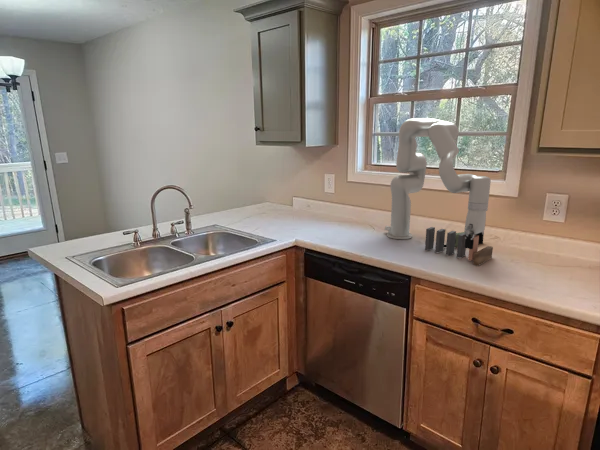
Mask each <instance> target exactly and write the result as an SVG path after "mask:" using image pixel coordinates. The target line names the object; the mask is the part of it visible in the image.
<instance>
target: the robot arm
mask: <svg viewBox="0 0 600 450" xmlns="http://www.w3.org/2000/svg"><path fill="white" fill-rule="evenodd" d="M458 136H459V127H458V126H457V124H455V123H453V122H451V121H446V120H441V119H437V118H431V117H425V118H424V117H416V118H415V117H414V118H409V119H406V120H404V121H403V122H402V123H401V126H400V127H399V132H398V148H397V155H396V156H397V157H396V162H395V163H396V170H397V171H398V172H399V173H403V174H400V175H396V176H395V177H393V178H392V179H391V181H390V192H391V210H390V211H391V213H390V226H389V225H385V226H384V231H388V232H387V234H386V236H387V237H388V238H390V239H392V240H393V239H394V240H410V239H412V238H413V234H412V233H411V232H410V225H411V212H412V211H411V210H412V209H411V208H412V201H411V198H410V195H409V194H415V193H419V192H420V191H422V190H423V187H424V185H425V184H424V183H425V178H426V173H427V172H426V171H427V165H428V163H427V158H426V157H425V155H424V154H423V153H421V152H417V147H418V145H417V140H416V137H417V138H419V137H421V138H422V137H425V138H426V137H428V138H429V140H430V142H431V144H432V146H433V149H434V150H435V152H436V154H437V156H438V159H439V162H438V175H439V177H440V179H441V182H442V183H443V185H444V188H445V189H446V190H447V191H448V192H449V193H453V194H457V193H458V194H459V193H467V192H469V194H468V203H467V214H466V219H465V224H464V230H463V232H465V236H466V237H465V248H466V249H468V250H469V249H473V243H474V240H473V238H474V235H478V236H479V241H478V245H483V244H484V235H485V229H486V221H487V212H488V210H489V208H488V207H489V201H490V200H489V199H490V191H491V190H490V189H491V178H490V177H489V176H485V175H475V174H473V173H461V174H457V172H456V170H455V168H454V165H453V160H454V158H456V156H457V155H458V154H459V153H460V150H459V147H458V145H457V144H456V142H455V140H456V139H457V138H458ZM404 173H406V174H404ZM407 173H409V174H407ZM470 234H471V235H472V236H471V235H470Z"/></svg>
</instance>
